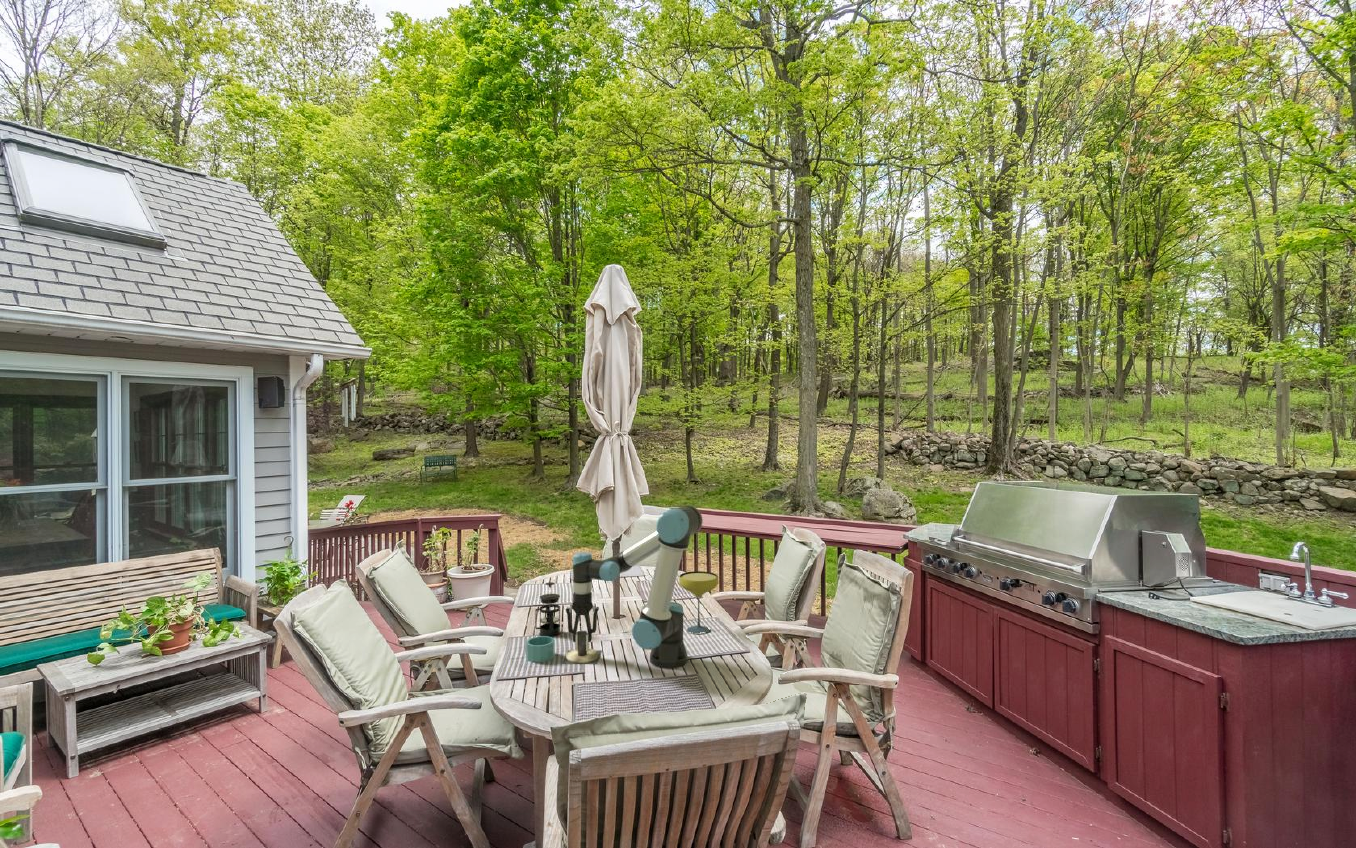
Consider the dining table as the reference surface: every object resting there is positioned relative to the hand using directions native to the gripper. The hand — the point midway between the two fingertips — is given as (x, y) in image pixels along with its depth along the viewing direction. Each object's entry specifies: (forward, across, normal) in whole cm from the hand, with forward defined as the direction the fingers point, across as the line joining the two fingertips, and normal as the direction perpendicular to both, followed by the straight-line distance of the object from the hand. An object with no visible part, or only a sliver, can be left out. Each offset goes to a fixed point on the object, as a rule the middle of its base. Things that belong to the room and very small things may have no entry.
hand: (582, 649), depth 236 cm
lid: (+3, 0, 0) cm, 3 cm away
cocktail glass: (+4, -48, -33) cm, 58 cm away
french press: (+4, +20, -28) cm, 35 cm away
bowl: (+4, +17, 0) cm, 17 cm away
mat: (+4, 0, 0) cm, 4 cm away
